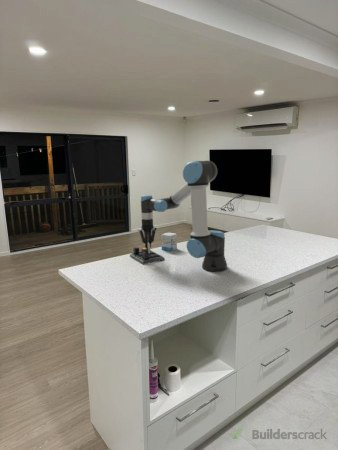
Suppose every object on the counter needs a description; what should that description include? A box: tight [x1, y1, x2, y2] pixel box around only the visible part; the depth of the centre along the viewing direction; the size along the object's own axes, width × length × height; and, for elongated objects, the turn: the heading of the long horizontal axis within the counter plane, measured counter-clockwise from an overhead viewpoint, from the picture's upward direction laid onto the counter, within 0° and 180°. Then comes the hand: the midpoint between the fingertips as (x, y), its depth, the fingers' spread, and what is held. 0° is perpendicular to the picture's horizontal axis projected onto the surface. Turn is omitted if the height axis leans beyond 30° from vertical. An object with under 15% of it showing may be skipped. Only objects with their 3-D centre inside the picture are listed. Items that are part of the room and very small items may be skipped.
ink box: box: [161, 232, 178, 252], centre depth 234 cm, size 8×8×12 cm
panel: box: [129, 246, 166, 265], centre depth 214 cm, size 20×16×6 cm
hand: (148, 252), depth 215 cm, fingers closed
